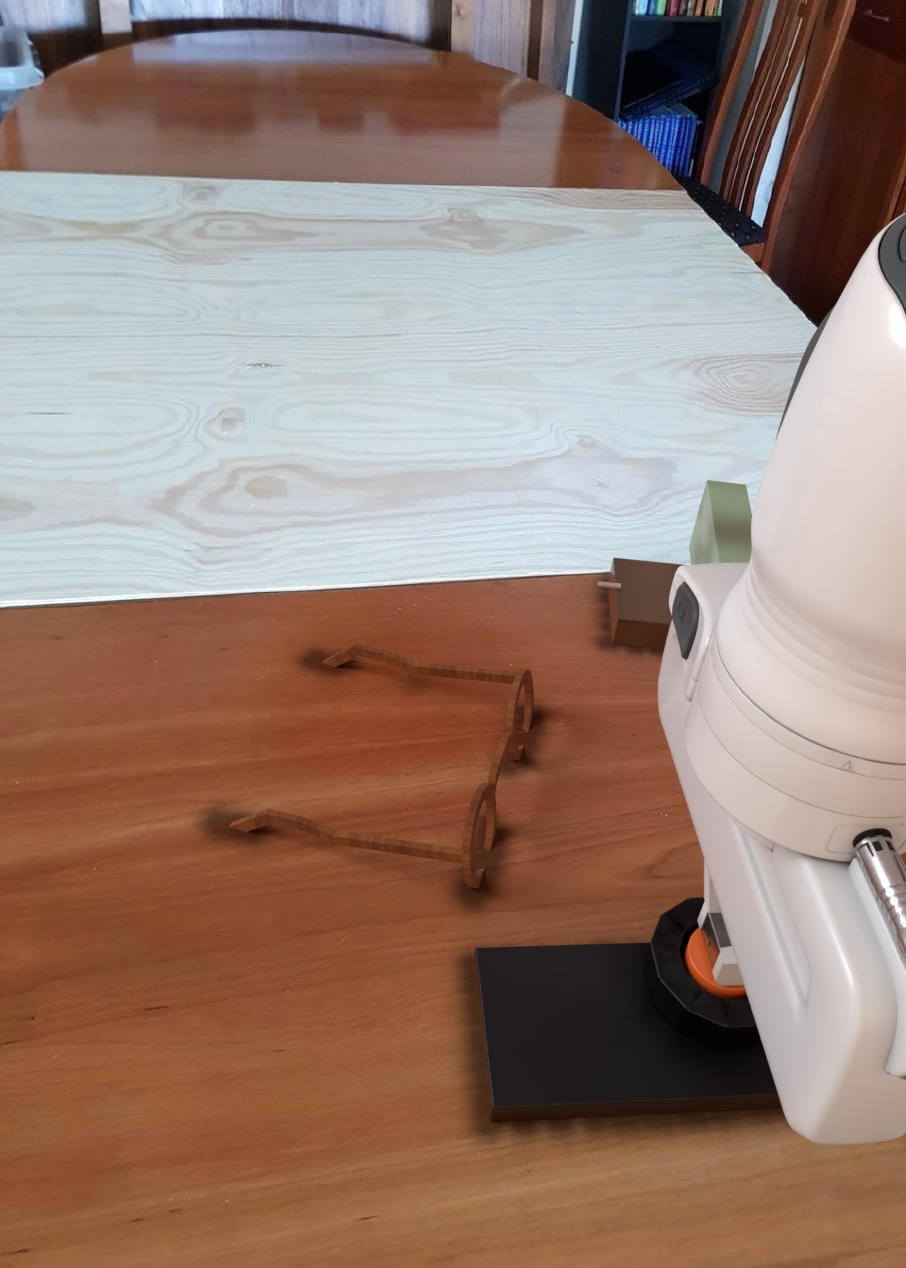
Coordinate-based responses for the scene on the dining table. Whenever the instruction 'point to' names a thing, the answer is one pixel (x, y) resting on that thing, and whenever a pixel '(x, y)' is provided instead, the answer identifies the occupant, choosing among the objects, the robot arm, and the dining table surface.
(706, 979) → the button
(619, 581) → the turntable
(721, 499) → the green battery pack
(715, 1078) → the control block
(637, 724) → the dining table surface
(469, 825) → the glasses
